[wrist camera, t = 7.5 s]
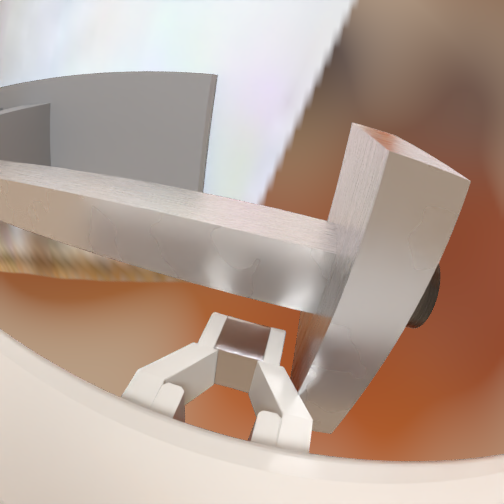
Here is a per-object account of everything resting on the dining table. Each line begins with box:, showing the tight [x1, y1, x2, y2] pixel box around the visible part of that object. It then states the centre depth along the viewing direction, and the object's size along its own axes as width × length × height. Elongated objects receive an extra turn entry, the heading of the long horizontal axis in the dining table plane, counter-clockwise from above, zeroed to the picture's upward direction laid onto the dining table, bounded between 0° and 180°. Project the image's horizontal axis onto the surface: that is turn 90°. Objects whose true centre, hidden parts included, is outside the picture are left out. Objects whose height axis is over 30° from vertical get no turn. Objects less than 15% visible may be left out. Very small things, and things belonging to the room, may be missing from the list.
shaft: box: [0, 123, 470, 434], centre depth 10 cm, size 8×28×6 cm, turn 81°
